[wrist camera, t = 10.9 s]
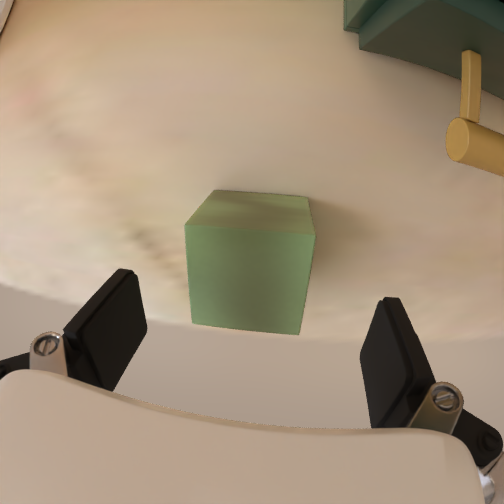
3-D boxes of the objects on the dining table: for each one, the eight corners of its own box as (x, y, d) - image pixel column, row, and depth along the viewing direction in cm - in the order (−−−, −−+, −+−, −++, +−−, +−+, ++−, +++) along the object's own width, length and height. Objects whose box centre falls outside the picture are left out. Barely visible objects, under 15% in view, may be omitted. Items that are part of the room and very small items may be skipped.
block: (214, 270, 18) (191, 324, 13) (213, 189, 15) (184, 224, 11) (297, 278, 17) (299, 336, 13) (307, 196, 15) (316, 235, 11)
